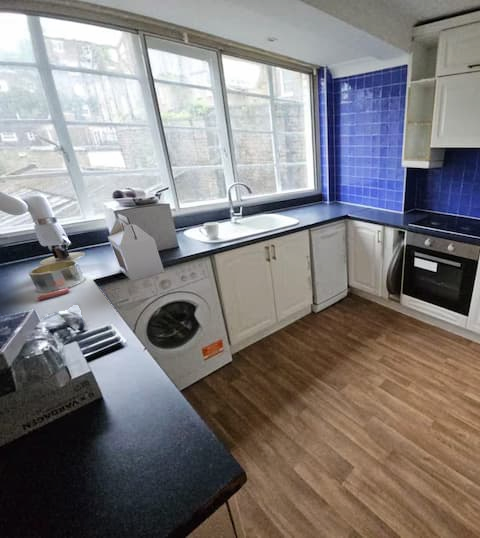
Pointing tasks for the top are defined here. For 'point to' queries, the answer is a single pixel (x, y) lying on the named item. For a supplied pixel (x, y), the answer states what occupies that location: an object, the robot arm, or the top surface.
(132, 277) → the gable box
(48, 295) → the red rod
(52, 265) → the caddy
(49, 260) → the caddy lid
